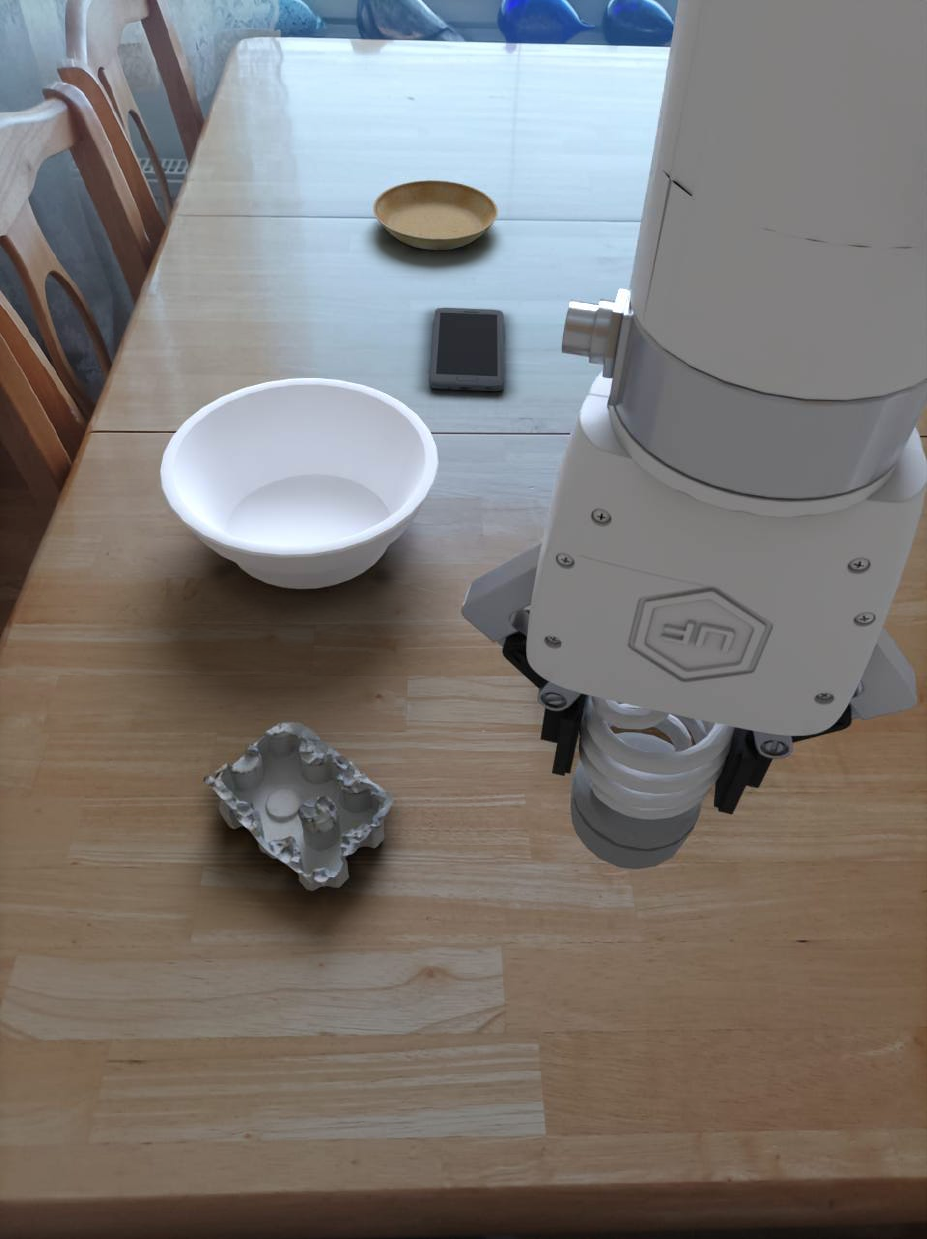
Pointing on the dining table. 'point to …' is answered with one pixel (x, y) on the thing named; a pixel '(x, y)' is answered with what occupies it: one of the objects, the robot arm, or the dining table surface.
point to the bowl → (300, 478)
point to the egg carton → (302, 803)
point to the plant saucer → (435, 213)
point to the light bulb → (642, 781)
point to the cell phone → (468, 349)
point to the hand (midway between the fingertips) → (645, 760)
